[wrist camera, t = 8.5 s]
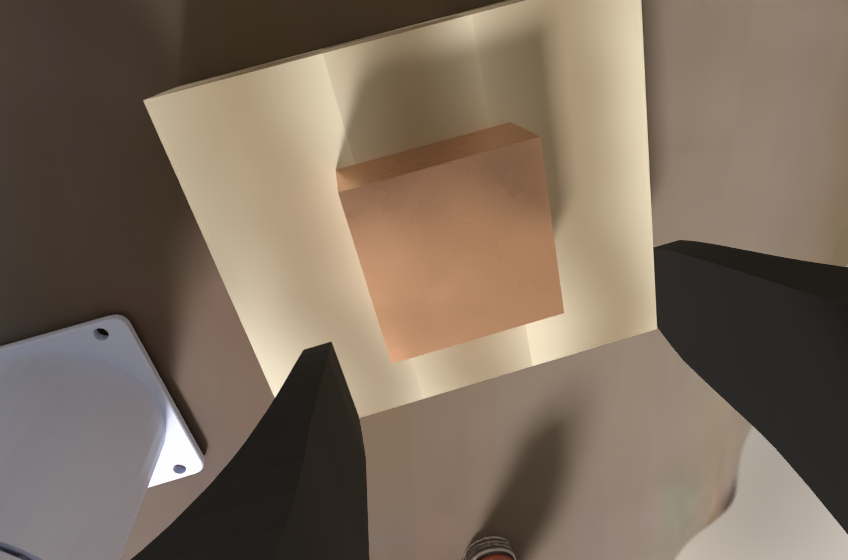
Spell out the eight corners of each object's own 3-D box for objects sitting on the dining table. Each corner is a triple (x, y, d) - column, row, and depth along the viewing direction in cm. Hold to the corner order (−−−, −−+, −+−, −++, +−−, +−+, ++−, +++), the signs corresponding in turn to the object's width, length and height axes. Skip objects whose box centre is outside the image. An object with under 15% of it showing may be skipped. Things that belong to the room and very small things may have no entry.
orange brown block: (374, 280, 22) (391, 363, 16) (332, 146, 19) (337, 192, 14) (504, 243, 22) (564, 313, 17) (480, 107, 20) (540, 136, 14)
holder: (296, 375, 23) (292, 437, 20) (177, 86, 18) (143, 100, 15) (607, 284, 24) (657, 328, 21) (579, -19, 19) (639, -30, 15)
